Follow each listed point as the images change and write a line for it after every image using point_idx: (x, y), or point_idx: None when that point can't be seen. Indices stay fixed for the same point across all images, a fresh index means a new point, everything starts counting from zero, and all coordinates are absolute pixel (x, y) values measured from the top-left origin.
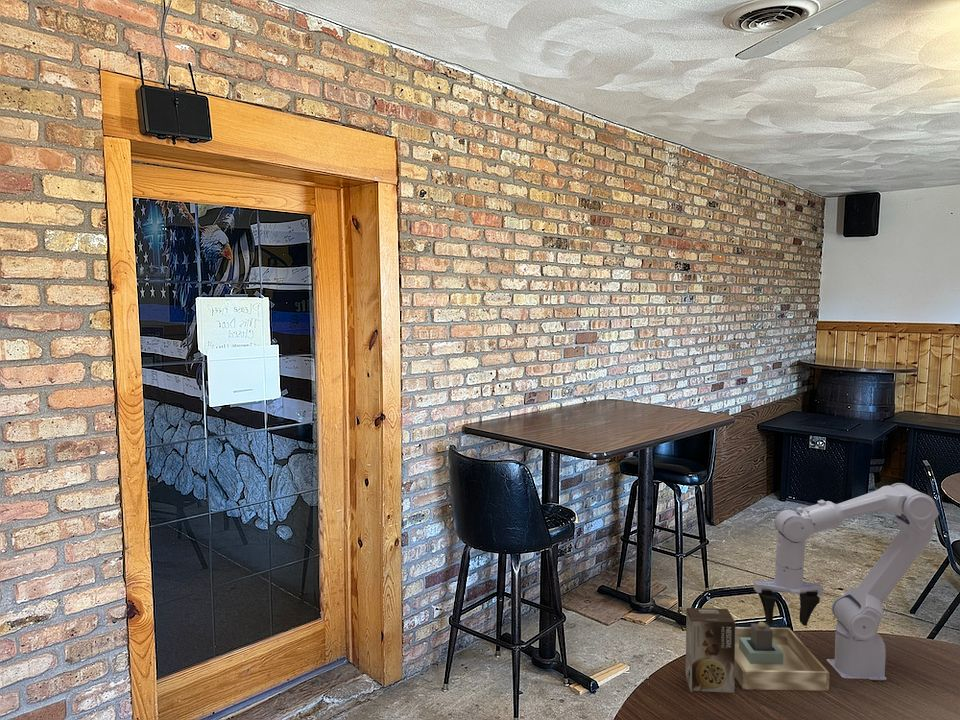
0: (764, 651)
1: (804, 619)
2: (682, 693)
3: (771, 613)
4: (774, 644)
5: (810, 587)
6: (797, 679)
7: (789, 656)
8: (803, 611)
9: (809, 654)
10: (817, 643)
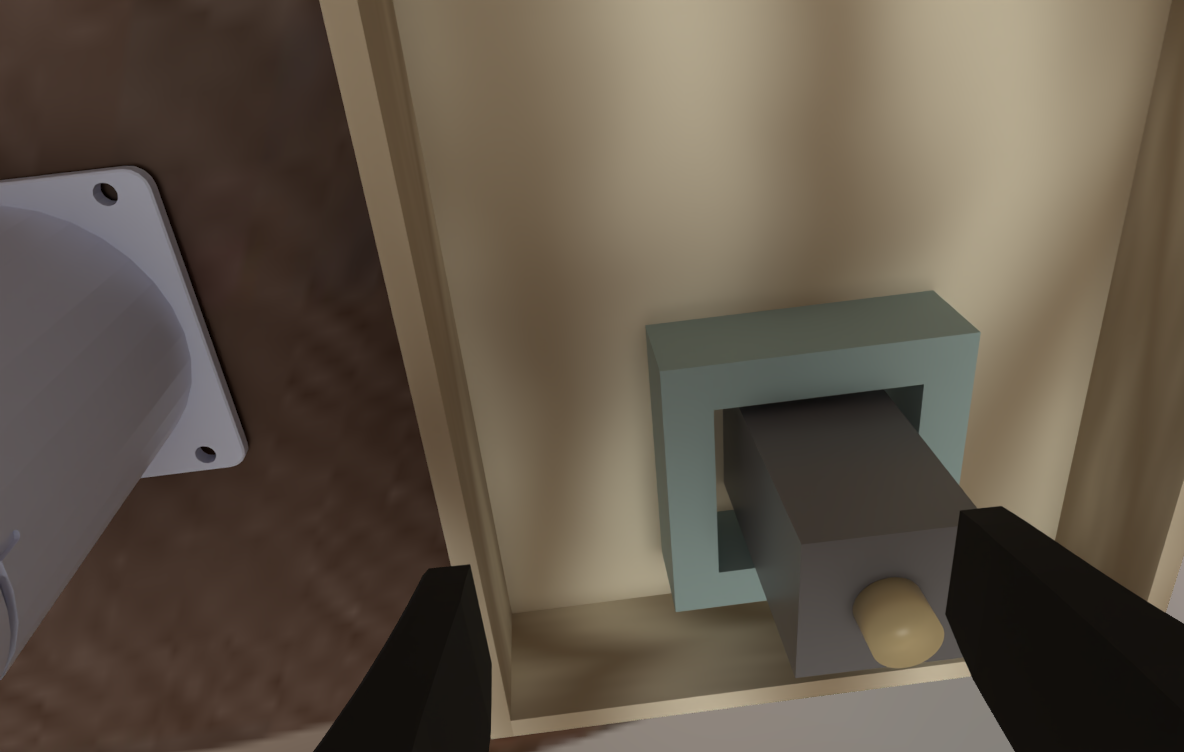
0: (829, 384)
1: (456, 639)
2: None
3: (1129, 624)
4: (683, 516)
5: None
6: None
7: (548, 455)
8: None
9: (427, 325)
10: (269, 677)
